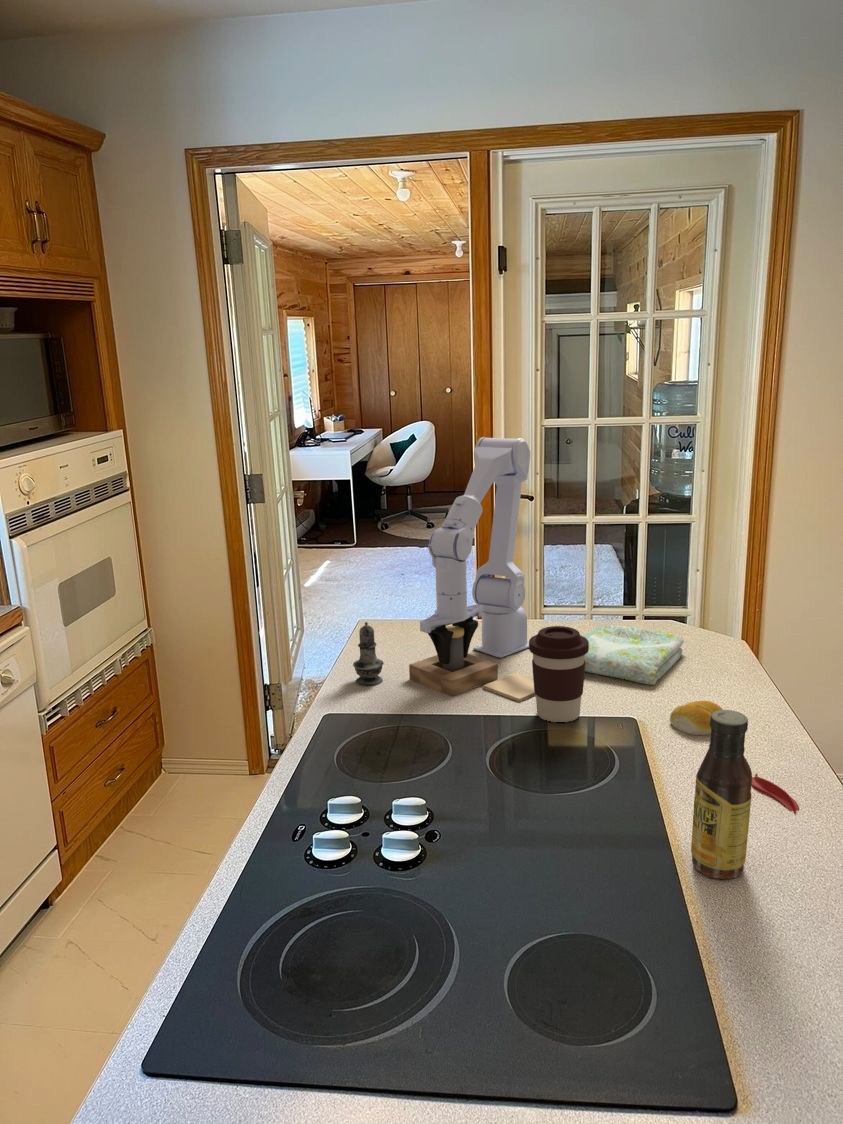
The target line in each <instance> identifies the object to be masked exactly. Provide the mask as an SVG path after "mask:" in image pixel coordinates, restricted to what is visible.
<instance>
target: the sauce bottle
mask: <svg viewBox="0 0 843 1124" xmlns="http://www.w3.org/2000/svg"><path fill="white" fill-rule="evenodd" d="M748 726H749V719H748V717H747V716H746V715H745V714H743V713H742V712H740V711H737V710H736V711H735V710H731V709H723V710H718V711H715V712H713V713H712V715H711V718H710V727H711V734H710V739H709V744H708V748H707V749H708V750H707V752H706V754H705V756H704V758H703V759H702V762H701V764H700V766H699V769H698V770H697V773H696V777H695V785H694V786H695V788H694V789H695V791H694V800H693V814H692V830H691V843H690V851H691V852H690V853H691V858H692V859H691V862H692V865H693V867H694V868H695V869H696V870H697V871H699V872H700V873H701V874H703V875H704V876H706V877H707V878H710V879H719V880H731V879H735V878H736V877H739V876H740V875H742V873H743V871H744V869H745V867H744V865H745V863H746V859H747V850H748V849H747V848H748V847H747V846H748V840H749V825H750V815H751V804H752V785H751V784H752V777H753V772H752V769H751V766H750V764H749V762H748V760H747V758H746V756H744V755H745V749H746V748H745V741H746V740H745V739H746V733H747V731H748V730H749V727H748Z"/></svg>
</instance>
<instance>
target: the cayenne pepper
mask: <svg viewBox="0 0 843 1124" xmlns="http://www.w3.org/2000/svg"><path fill="white" fill-rule="evenodd" d="M751 787H753V788H754V789H755V790H756V791H759V792H760V793H762V794H764V795H767V796H769V797H770V798H772V799H774V800H776V801H777V802H778V803H780V804H781V805H782V806H783V807H785V808H786V809H787V810H788V811H789V812H793V813H794V816H795V815H796V813H797V812H800V807H799V804H798V803H797V802H798V801H796V799H794V798H793V797H791V796H790V794H789V793H788V791H786V790H784V789H783V788H782V787H780V786H779V785H777V784H776V783H774V782H772V781H769V780H767V779H765V778H763V777H761V776H758V773H756V774H754V776H752V784H751Z"/></svg>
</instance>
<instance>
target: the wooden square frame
mask: <svg viewBox="0 0 843 1124" xmlns="http://www.w3.org/2000/svg"><path fill="white" fill-rule="evenodd" d="M498 665H499V663H497V662H493V661H491V660H488V659H485V658H482V657H478V656H476V655H473V654H470V653H468V654H467V657H466V658H464V668H463V669H460V670H457V671H455V672H451V671H448V670H445V669H443V663H440V662H439V659H438V655H437V654H436V655H432V656H431V657H427V658H424V659H421V660H418V661H416V662H413V663H410V664H408V667H409V670H408V671H409V674H408V675H409V680H411V681H413V682H416V683H418V684H421V685H423V686H426V687H428V688H431V689H433V690H435V691H436V690H437V691H439V692H440V693H441V692H442V693H443V694H446V695H449V696H451V697H454V696H456V695H458V694H461V693H464V692H467V691H469V690H471V689H472V690H473V689H475V688H478V687H480V686H483V685H486V684H488V683H491V682H494V681H496V680H499V670H498V669H499V666H498Z"/></svg>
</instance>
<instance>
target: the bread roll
mask: <svg viewBox="0 0 843 1124" xmlns="http://www.w3.org/2000/svg"><path fill="white" fill-rule="evenodd" d="M718 710H724V708H722V707H721V706H720V704H717V703H715V702H712V701H708V700H699V701H692V702H691V701H690V702H687V703H686V704H683V705H678V706H677V707H675V708H674V709H673V710H672V711H671V713H670V716H669V722H670V724H671V726H672V727H674V728H675V729H677V730H678V731H680V732H681V733H682V732H683V733H684V734H688V735H691V736H692V735H693V736H708V735H709V736H711V727H710V718H711V715H712V713H713V712H715V711H718Z"/></svg>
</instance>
